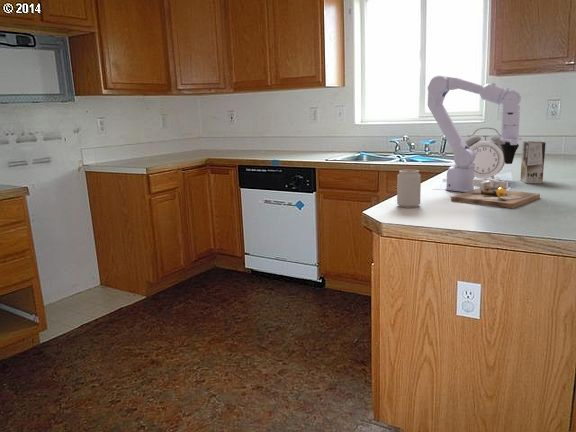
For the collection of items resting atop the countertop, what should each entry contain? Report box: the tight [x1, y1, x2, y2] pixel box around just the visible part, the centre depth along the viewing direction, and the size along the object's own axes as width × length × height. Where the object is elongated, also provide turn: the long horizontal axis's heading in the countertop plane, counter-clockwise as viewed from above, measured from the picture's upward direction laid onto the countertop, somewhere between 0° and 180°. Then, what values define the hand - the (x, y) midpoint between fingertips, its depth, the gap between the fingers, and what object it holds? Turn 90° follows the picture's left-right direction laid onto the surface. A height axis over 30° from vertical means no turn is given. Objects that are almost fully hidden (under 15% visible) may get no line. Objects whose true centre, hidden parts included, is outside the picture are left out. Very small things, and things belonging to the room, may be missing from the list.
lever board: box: [450, 187, 541, 209], centre depth 166 cm, size 21×21×2 cm
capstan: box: [473, 177, 509, 197], centre depth 167 cm, size 15×15×4 cm
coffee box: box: [520, 140, 547, 184], centre depth 195 cm, size 9×6×16 cm
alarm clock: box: [464, 127, 506, 180], centre depth 203 cm, size 16×9×22 cm, turn 61°
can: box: [396, 169, 422, 209], centre depth 160 cm, size 8×8×12 cm
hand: (508, 163), depth 175 cm, fingers closed
